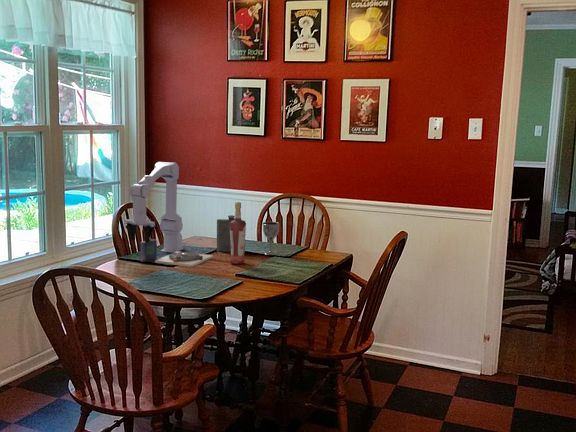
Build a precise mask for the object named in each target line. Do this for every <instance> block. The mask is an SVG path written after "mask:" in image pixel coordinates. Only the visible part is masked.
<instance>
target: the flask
mask: <svg viewBox="0 0 576 432" xmlns="http://www.w3.org/2000/svg"><path fill="white" fill-rule="evenodd" d="M227 217H228V218H227V219H225V218H218V219H216V252H219V253H221V252H222V253H231V241H230V222H231V221H233V220H235V215H232V214H231V215H227ZM243 221H244V222H246V220H243ZM245 252H246V247H245V248H244V254H245Z"/></svg>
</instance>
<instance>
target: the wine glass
mask: <svg viewBox="0 0 576 432" xmlns="http://www.w3.org/2000/svg"><path fill="white" fill-rule="evenodd" d="M279 230H280V223H279V222H277V221H264V222H262V231H263V232H262V233H263V234H264V236H265V238H266V239H267V240H268V243H269V250H268V251H263V255H268V256H274V255H278V252H276V251H272V244H273V241H274V240H275V239H276V237H277V236H278V234H279Z"/></svg>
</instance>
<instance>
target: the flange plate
mask: <svg viewBox="0 0 576 432" xmlns="http://www.w3.org/2000/svg"><path fill="white" fill-rule="evenodd" d="M199 254H200V253H196V252H193V251H192V252H191V251H182V250H180V251H176V253H173V254H172V253H170V254H168V255H169V258H170V259H172V260H173V261H175V262H177V261H190V260H196V259H198V258H199V256H200V255H199Z"/></svg>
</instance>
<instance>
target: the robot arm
mask: <svg viewBox="0 0 576 432" xmlns="http://www.w3.org/2000/svg"><path fill="white" fill-rule="evenodd" d="M179 171H180V166H179V165H178V164H177V162H175V161H174V162H168V161H167V162H165V161H157V162H156V163H155V164H154V169H153V170H152V171H151V173H150V174H149V175H148V174H147V175H146V174H145V175H144V176H143V178H142V179H140V180H139V181H138V183H134V184H133V185H131V187H130V189H129V194H130V197H131V199H130V200H131V201H132V219H130V218H129V219H127V218H126V219H125V220H124V224H125V229H126V230H127V233H128V234H129V237H130V241H131V242H134V241H136V231H137V226H143V227H142V228H143V232H144V241H145V242H146V243H147V242H149V241H150V239H151V236H152V233H153V231H154V230H155V227H156V222H155V221H150V220H147V197H149V193H150V191H151V189H152V188H153V187H154V186H155V184H156V181H157V180H158V179H159V178H163V180H165V213H164V214H163V215H162V216H161V217H160V222H159V228H160V231H161V232H162V233H163V248H162V249H161V250H160V252H163V253H164V252H166V253H171V254H172V253H175V252H176V251H182V250H184V248H185V247H183V235H182V233H181V232H182V231H183V220H182V219H183V218H182V216H181V215H180V214H178V213H177V204H178V203H177V194H178V193H177V192H178V179H180V177H179V175H180V172H179Z"/></svg>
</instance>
